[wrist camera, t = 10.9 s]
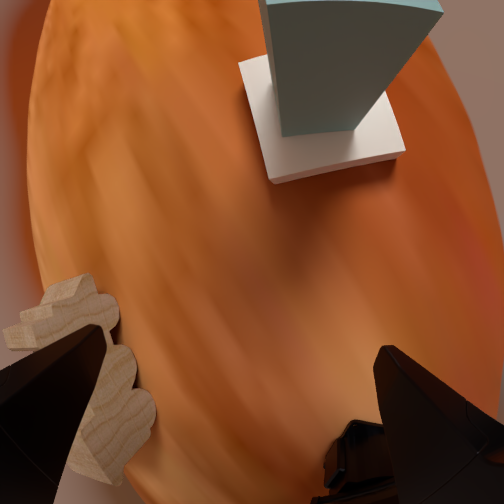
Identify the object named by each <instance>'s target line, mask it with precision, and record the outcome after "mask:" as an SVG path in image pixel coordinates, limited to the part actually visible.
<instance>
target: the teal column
mask: <svg viewBox="0 0 504 504" xmlns="http://www.w3.org/2000/svg"><path fill="white" fill-rule="evenodd" d="M258 3H259V8H260V14H261V19H262V25H263V31H264V37H265V43H266V49H267V56H268V62H269V68H270V75H271V80H272V85H273V90H274V95H275V101H276V106H277V112H278V117H279V123H280V129H281V135H282V137H287V136H295V135H304V134H313V133H323V132H334V131H347V130H355V129H356V127H357V126H358V125H359V123H360V122H361V121H362V120H363V118H364V117H365V116H366V114H367V113H368V112H369V111H370V109H371V108H372V107H373V105H374V104H375V103H376V101H377V100H378V99H379V98H380V96H381V95H382V94H383V92H384V91H385V90H386V88H387V87H388V86H389V84H390V83H391V82H392V81H393V79H394V78H395V77H396V75H397V74H398V73H399V71H400V70H401V69H402V68H403V66H404V65H405V64H406V62H407V61H408V60H409V58H410V57H411V56H412V54H413V53H414V52H415V51H416V49H417V48H418V47H419V45H420V44H421V43H422V41H423V40H424V39H425V37H426V36H427V35H428V33H429V32H430V31H431V29H432V28H433V27H434V26H435V24H436V23H437V22H438V20H439V19H440V18H441V16H442V15H443V13H444V11H443V10H442V8H441V6H440V4H439V2H438V1H437V0H258Z"/></svg>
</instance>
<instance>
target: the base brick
mask: <svg viewBox="0 0 504 504" xmlns="http://www.w3.org/2000/svg"><path fill="white" fill-rule="evenodd" d="M239 67H240V71H241V74H242V78H243V81H244V85H245V89H246V92H247V96H248V100H249V103H250V107H251V111H252V115H253V119H254V122H255V126H256V130H257V134H258V138H259V142H260V146H261V150H262V154H263V158H264V162H265V166H266V170H267V174H268V178H269V180H270V181H271V182H272V183H274V184H279V183H283V182H287V181H292V180H296V179H300V178H304V177H309V176H313V175H317V174H322V173H326V172H331V171H336V170H340V169H345V168H350V167H355V166H360V165H365V164H370V163H375V162H380V161H385V160H391V159H396V158H398V157H399V156H400V155H401V154H402V153H403V152H405V151H406V150H405V146H404V143H403V140H402V137H401V134H400V131H399V128H398V125H397V122H396V119H395V116H394V113H393V111H392V108H391V105H390V103H389V100H388V98H387V95H386V93H385V91H384V92H383V94H382V95H381V96H380V98H379V99H378V100H377V101H376V103H375V104H374V105H373V107H372V108H371V109H370V111H369V112H368V113H367V114H366V116H365V117H364V118H363V120H362V121H361V122H360V123H359V125H358V126H357V127H356V129H355V130H347V131H334V132H323V133H313V134H304V135H295V136H287V137H282V135H281V129H280V123H279V117H278V112H277V106H276V101H275V95H274V90H273V85H272V80H271V75H270V68H269V62H268V56H267V55H263V56H260V57H256V58H252V59H249V60H246V61H242V62H239Z"/></svg>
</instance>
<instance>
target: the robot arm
mask: <svg viewBox="0 0 504 504" xmlns="http://www.w3.org/2000/svg"><path fill="white" fill-rule="evenodd" d="M106 352H107V343H106V339H105V336H104V332H103V329H102V327H101V326H100V325H96V324H88V325H86V326H84V327H82V328H80V329H78V330H76V331H74V332H72V333H71V334H69V335H67V336H65V337H63V338H61V339H59V340H57V341H55V342H53V343H51V344H49V345H48V346H46V347H44V348H42V349H40V350H38V351H36V352H34V353H32V354H30V355H28V356H27V357H25V358H23V359H21V360H19V361H17V362H15V363H14V364H12V365H11V366H10V365H9V366H8V367H6V368H4V369H2V370H0V504H53V503H54V499H55V496H56V493H57V489H58V485H59V482H60V479H61V476H62V473H63V470H64V467H65V464H66V461H67V458H68V455H69V453H70V450H71V447H72V444H73V442H74V439H75V436H76V434H77V431H78V428H79V426H80V423H81V421H82V418H83V416H84V413H85V411H86V408H87V406H88V403H89V401H90V399H91V396H92V394H93V391H94V389H95V386H96V383H97V380H98V377H99V374H100V370H101V367H102V364H103V361H104V358H105V355H106ZM373 372H374V379H375V385H376V392H377V399H378V406H379V411H380V415H381V419H382V423H383V425H382V424H376V423H371V422H366V421H361V420H352V421H351V422H350V423H349V424H348V426H347V428H346V429H345V431H344V433H343V434H342V436H341V438H340V437H339V438H338V439H336V441H335V443H334V444H333V446H332V447H331V449H330V450H329V452H328V454H327V455H326V461H325V462H324V466H323V467H324V469H325V477H324V487H325V488H328V489H329V495H328V496H323V497H320V496H318V497H313V498H312V500H311V503H310V504H504V425H503V424H501V423H499V422H498V421H496V420H495V419H493V418H492V417H490V416H489V415H487V414H485V413H484V412H483V411H481V410H480V409H479V408H477V407H476V406H474V405H473V404H472V403H470V402H469V401H466V399H465V398H464V397H462V396H461V395H460V394H458V393H457V392H456V391H454V390H453V389H452V388H450V387H449V386H448V385H446V384H445V383H444V382H442V381H441V380H440V379H438V378H437V377H436V376H434V375H433V374H432V373H430V372H429V371H428V370H426V369H425V368H424V367H422V366H421V365H420V364H418V363H417V362H416V361H414V360H413V359H412V358H410V357H409V356H408V355H406V354H405V353H403V352H402V351H401V350H399V349H398V348H397V347H395V346H394V345H384V346H382V347H381V348H380V350H379V352H378V355H377V357H376V360H375V362H374V366H373ZM353 425H356V426H353Z"/></svg>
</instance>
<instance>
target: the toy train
mask: <svg viewBox="0 0 504 504" xmlns="http://www.w3.org/2000/svg"><path fill="white" fill-rule="evenodd" d="M20 318H21V323H19V324H17V325H14V326H11V327H9V328H6V329H3V333H4V337H5V340H6V343H7V347H8V349H10V350H12V351H33V353H34V352H36V351H38V350H40V349H42V348H44V347H46V346H48V345H49V344H51V343H53V342H55V341H57V340H59V339H61V338H63V337H65V336H67V335H69V334H71V333H72V332H74V331H76V330H78V329H80V328H82V327H84V326H86V325H88V324H96V325H100V326H101V327H102V329H103V332H104V336H105V339H106V343H107V352H106V355H105V358H104V361H103V364H102V367H101V370H100V374H99V377H98V380H97V383H96V386H95V389H94V391H93V394H92V396H91V399H90V401H89V403H88V406H87V408H86V411H85V413H84V416H83V418H82V421H81V423H80V426H79V428H78V431H77V434H76V436H75V439H74V442H73V444H72V447H71V450H70V453H69V455H68V458H67V461H66V462H67V464H68V465H69V467H70V468H71V469H72V471H74V472H77V473H80V474H82V475H85V476H87V477H90V478H93V479H96V480H99V481H102V482H104V483H108V484H111V485H114V486H119V485H121V484H122V481H123V470H124V465H125V464H126V463H127V462H128V461H129V460H130V459H131V458H132V457H133V456H134V454H135V453H136V452H137V451H138V450H139V449H140V448H141V447H142V445H143V444H144V443H145V442H146V441H147V440H148V439H149V438H150V435H151V431H150V428H151V426H152V425H153V423H154V421H155V418H156V407H155V402H154V400H153V398H152V396H151V394H150V393H149V392H147V391H146V390H144V389H141V388H132V386H133V383H134V380H135V376H136V371H137V365H136V360H135V358H134V355H133V353H132V351H131V350H130V348H129V347H127V346H125V345H123V344H121V345H114V344H113V341H112V338H111V335H110V332H109V331H110V330H111V329H112V328H113V327H114V326H116V324H117V322H118V320H119V306H118V304H117V302H116V300H115V298H114V297H113V296H111V295H109V294H98V292H97V289H96V286H95V283H94V280H93V276H92V275H91V274H90V273H86V274H83V275H80V276H76V277H73V278H70V279H68V280H65V281H62V282H59V283H56V284H53V285H50V286H49V287H48V288H47V290H46V292H45V294H44V296H43V298H42V300H41V302H40V305H39V306H36V307H33V308H30V309H27V310H25V311H22V312H20Z"/></svg>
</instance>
